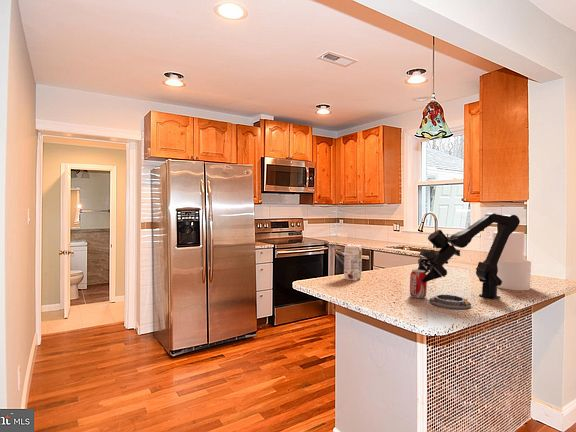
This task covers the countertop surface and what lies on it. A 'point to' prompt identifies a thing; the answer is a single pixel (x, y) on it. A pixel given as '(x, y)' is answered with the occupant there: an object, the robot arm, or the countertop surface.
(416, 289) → the soda can
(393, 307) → the countertop surface
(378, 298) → the countertop surface
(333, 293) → the countertop surface
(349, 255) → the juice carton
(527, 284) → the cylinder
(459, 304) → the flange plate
